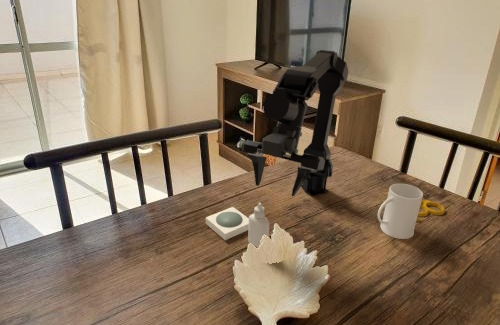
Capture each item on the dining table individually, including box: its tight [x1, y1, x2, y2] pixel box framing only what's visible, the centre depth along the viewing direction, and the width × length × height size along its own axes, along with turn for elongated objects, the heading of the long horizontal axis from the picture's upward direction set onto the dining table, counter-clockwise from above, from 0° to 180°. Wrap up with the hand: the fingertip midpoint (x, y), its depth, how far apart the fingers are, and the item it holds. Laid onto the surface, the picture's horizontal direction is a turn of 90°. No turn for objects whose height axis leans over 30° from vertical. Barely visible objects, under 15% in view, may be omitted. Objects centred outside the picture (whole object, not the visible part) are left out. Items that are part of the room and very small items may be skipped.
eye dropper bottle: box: [247, 202, 270, 247], centre depth 89 cm, size 4×6×12 cm
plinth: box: [205, 206, 249, 241], centre depth 98 cm, size 9×9×2 cm
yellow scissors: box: [416, 198, 446, 222], centre depth 108 cm, size 17×2×10 cm
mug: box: [377, 183, 424, 240], centre depth 96 cm, size 12×8×12 cm
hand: (274, 190), depth 86 cm, fingers open, 9 cm apart
